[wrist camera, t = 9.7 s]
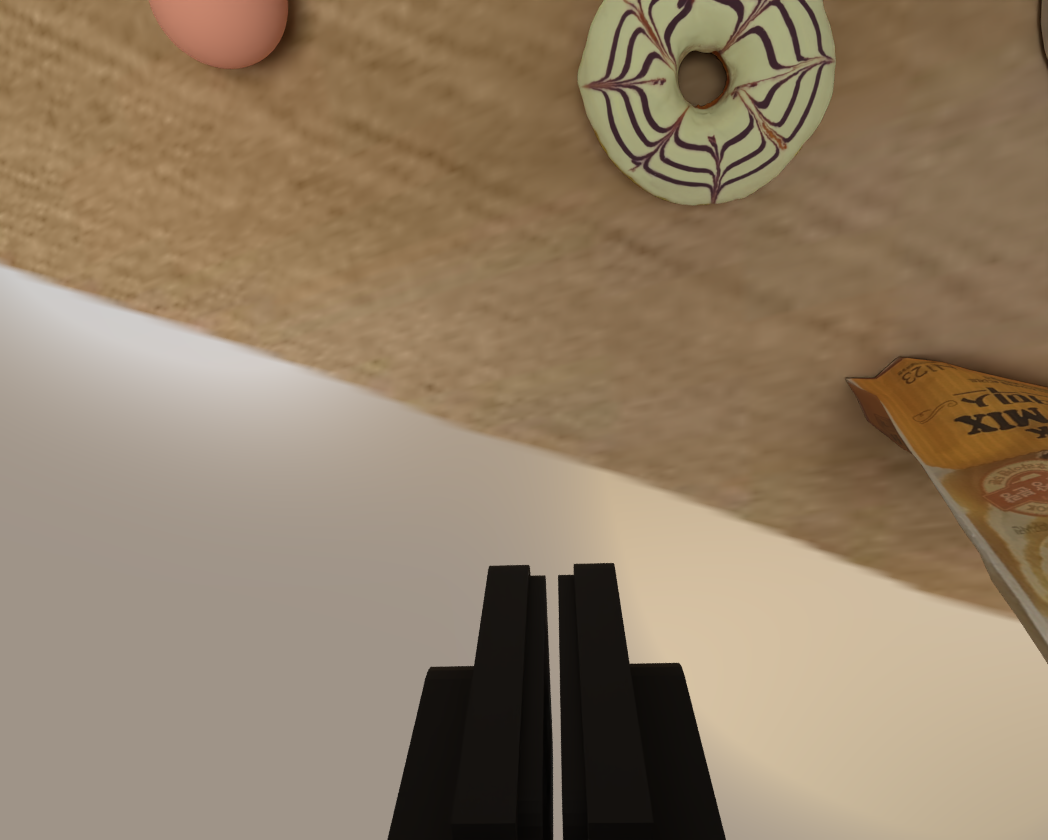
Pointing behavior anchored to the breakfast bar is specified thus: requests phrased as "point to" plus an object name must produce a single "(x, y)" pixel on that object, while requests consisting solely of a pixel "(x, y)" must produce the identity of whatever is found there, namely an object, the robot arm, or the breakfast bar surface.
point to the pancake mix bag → (978, 465)
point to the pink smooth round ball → (223, 29)
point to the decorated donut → (727, 122)
